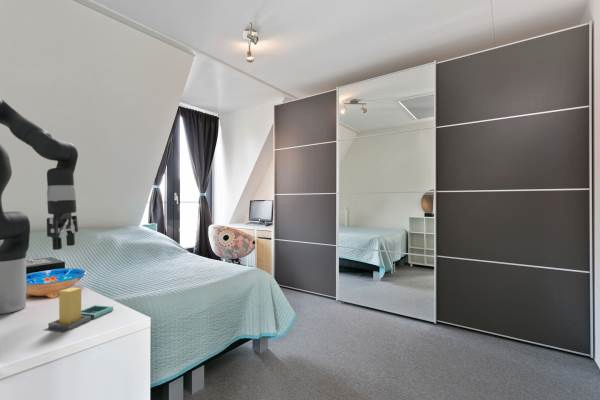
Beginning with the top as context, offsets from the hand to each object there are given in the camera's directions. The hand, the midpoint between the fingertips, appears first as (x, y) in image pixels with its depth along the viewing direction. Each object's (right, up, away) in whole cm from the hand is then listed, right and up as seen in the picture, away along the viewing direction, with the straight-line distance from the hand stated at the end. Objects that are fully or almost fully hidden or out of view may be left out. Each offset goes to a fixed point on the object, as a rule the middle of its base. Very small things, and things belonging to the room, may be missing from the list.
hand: (64, 247), depth 100 cm
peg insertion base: (+13, -21, -10) cm, 27 cm away
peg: (+13, -20, -14) cm, 27 cm away
